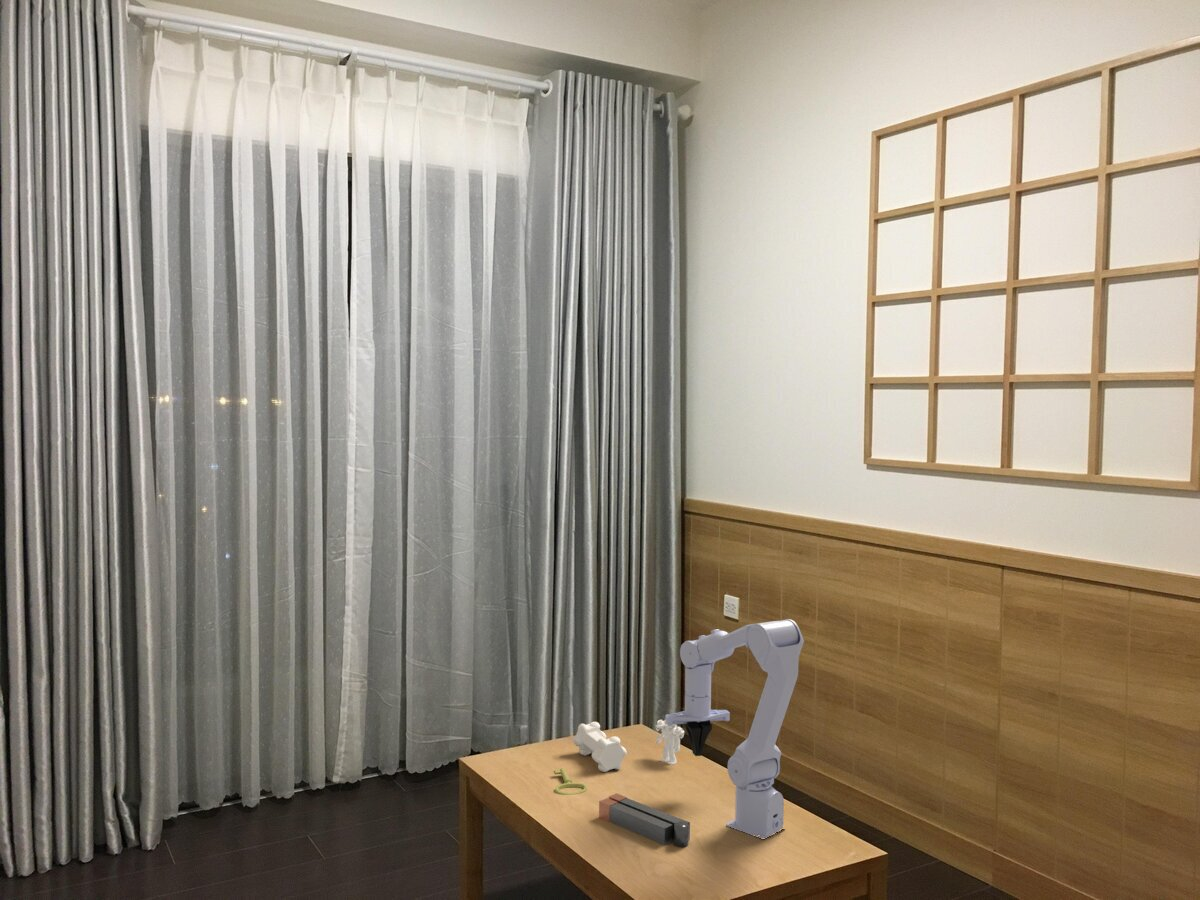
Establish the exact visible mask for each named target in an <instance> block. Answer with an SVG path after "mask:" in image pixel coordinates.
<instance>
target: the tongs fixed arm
mask: <svg viewBox="0 0 1200 900" xmlns="http://www.w3.org/2000/svg"><path fill="white" fill-rule="evenodd" d="M598 803H599V804H598V805H599V806H598V818H599V819H602V820H604V821H606V822H610V823H612V824H614V825H616V826H619V827H620V828H623V829H625V830H628V831H630V832H633V833H635V834H638V835H640V836H642V837H644V838H647V839H649V840H651V841H653V842H656V843H658V844H660V845H662V846H666V845H668V844H670V843H672V842H673V840H672V834H673V825H672V824H669V823H667V822H664V821H662V820H659V819H657V818H654V817H652V816H649V815H647V814H644V813H642V812H640V811H637V810H635V809H632V808H630V807H627V806H625V805H622V804H620V803H618V802H616V801H614V800H611V799H609V797H607V798H603V799H602V800H599V802H598Z"/></svg>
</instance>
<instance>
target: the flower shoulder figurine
mask: <svg viewBox="0 0 1200 900" xmlns="http://www.w3.org/2000/svg"><path fill="white" fill-rule="evenodd" d="M656 722H657V723H656V724H655V725H654V727H655V730H656V732H659V731H660V729H661V733H660V734H659V736H658V737H657V738H656V740H655V744H657V745H660V744H661V742H662V741H663V739H664V742H663V743H664V744H663V747H662V748H663V750H662V757H661V758H660V762H662V763H666V762H667V765H668V766H671V765H675V764H677V761H678V760H677V757H676V755H675V754H678V753H680V752H681V751H680V750H681V747H680V746H681V740H682V739H683V738H684V735H685V730H684V729H683V728H682V727H681V726H678V724H673V725H672V726H668V725H667V724H666V723H665V719H664V720H663V719H658V721H656Z"/></svg>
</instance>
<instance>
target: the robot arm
mask: <svg viewBox="0 0 1200 900" xmlns="http://www.w3.org/2000/svg"><path fill="white" fill-rule="evenodd" d="M800 629H801V628H799V626H798V624H797V622H795V620H793V619H790V618H785V619H782V620H775V621H774V620H773V621H772V620H771V621H766V622H759V623H758V622H757V623H752V624H745V625H743V626H741V627H740V628H738V629H736V630H733V631H731V632H727V631H725V630H721V629H719V628H718V629H712V630H710V634H708V635H705V634H703V635H699V636H698V639H695V640H685V641H684V642H683V643H682V644H681V646H680V649H679V655H680V661H681V662H682V664H683V665H684V667H685V669H684V670H685V671H684V672H685V673H684V677H685V678H684V681H685V682H684V683H685V684H684V691H685V692H684V710H683V711H678V712H675V713H669V714H668V713H667V714H665V716H664V717H665V718H664V720H665V723H666V724H667V725H668V726H672V725H673V724H676V725H683V727H684V728H685V731H686V733H687V735H688V738H689V741H690V745H691V750H692V751H691V752H692V754H693V755H694V756H695V757H702V754H703V751H704V747H705V744H706V741H707V739H708V736H709V735H710V733H711V731H712V730H713V725H712V723H711V722H720V721H724V722H729V721H730V720H731V717H730V716H731V712H729V711H728V710H727V709H712V707H711V706H712V673H713V672H714V669H715V663H716V662H718V661H721V660H723V659H726V658H729V657H731V656H732V655H733V653H734V652H735V649H737V648H740V647H744V646H745V647H746V648H747V649H749V650H750V651H751V653H752V655H753V656H754V659H755V660H756V662H757V663H758V665H759V666H760V668H761V670H762V671H763V672H766V673H767V678H766V681H765V684H764V686H763V690H762V693H761V696H760V700H759V703H758V706H757V708H756V712H755V715H754V718H753V720H752V721H753V722H752V724H751V727H750V729H749V734H748V736H747V738H746V739H745V740H744V741H743V742H742V743H740V744H739V745H738V746H737V747H736V748H735V751H734V753H733V755H731V756H730V757H729V758H728V761H727V774H728V776H729V779H730V780H731V782H732V784H733V785H734V786H735V802H734V803H735V811H734V812H735V813H734V814H735V815H734V816H735V817H734V819H733V820H731V821H728V822H726V827H728V828H730V827H731V828H730V829H733V828H734V829H733V830H736V829H737V830H736V831H738V830H740V831H739V832H741V831H743V832H746V833H748V834H747V835H749V834H751V835H755V836H758V835H760V836H758V837H760V838H766V837H768V836H770V835H772V834H773V833H775V832H777V831H779V830H780V829H782V828H783V825H784V816H785V815H784V813H785V811H784V807H785V804H784V803H785V801H784V796H783V794H782V793H781V792H779V791H777V790H776V789H775V788H774V787H773V785H774V784H775V779H776V778H777V777H778V776H779V774H780V771H781V763H780V762H781V756H782V751H781V750H780V749H779V747H778V746H777V745H776V742H777V739H778V736H779V733H780V730H781V727H782V725H783V721H784V719H785V716H786V713H787V711H788V706H789V704H790V700H791V697H792V695H793V692H794V690H795V686H796V683H797V680H798V676H799V665H800V664H799V663H800V662H799V658H800V654H801V651H802V648H803V645H804V643H805V640H804V638H803V634H802V632H801V630H800ZM743 832H742V833H743ZM746 833H745V834H746ZM751 835H750V836H751Z"/></svg>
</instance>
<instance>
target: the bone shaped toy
mask: <svg viewBox="0 0 1200 900" xmlns="http://www.w3.org/2000/svg"><path fill="white" fill-rule="evenodd" d="M572 742H573V745H575V746H576V747H578V748H579V749H578V754H580V755H581V756H588V755H590V754H591V759H592V760H593V761H594V762H596V763H597V764H598V766H597V767H598V770H599V771H600V772H602V773H606V772H608V771H611V770H613V769H614V770H616V771H619V770H620V769H621V767H622V762H623V760H624V757H626V756H627V754H628V751H627V749H626V748H625V747H624V746H622V745H621V739H620V737H618V736H615V735H613V736H611V737H609V738H607V735H606V733H605V732H603V731H602V730H601V725H600V723H599V722H598V721H592V722H590V723H588V724H585V723H580V724H579V725H578V727H577V731H576V734H575V736H573V737H572Z"/></svg>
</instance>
